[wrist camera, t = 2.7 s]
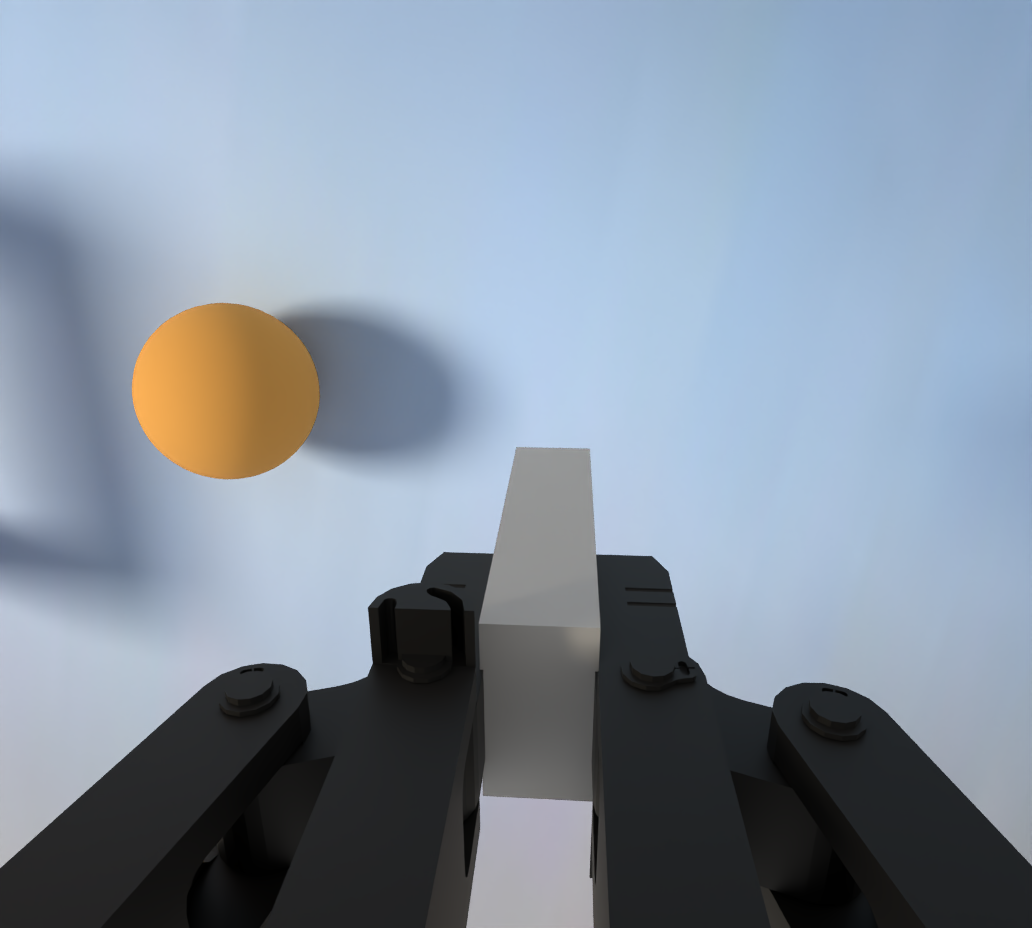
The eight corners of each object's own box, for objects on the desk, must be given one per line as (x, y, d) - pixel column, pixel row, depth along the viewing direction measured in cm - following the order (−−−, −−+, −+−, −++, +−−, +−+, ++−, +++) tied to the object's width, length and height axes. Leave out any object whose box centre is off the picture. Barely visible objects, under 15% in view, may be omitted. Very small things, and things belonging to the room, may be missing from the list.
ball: (172, 290, 26) (74, 319, 20) (332, 291, 25) (273, 320, 20) (197, 443, 28) (113, 505, 22) (346, 446, 27) (295, 509, 22)
